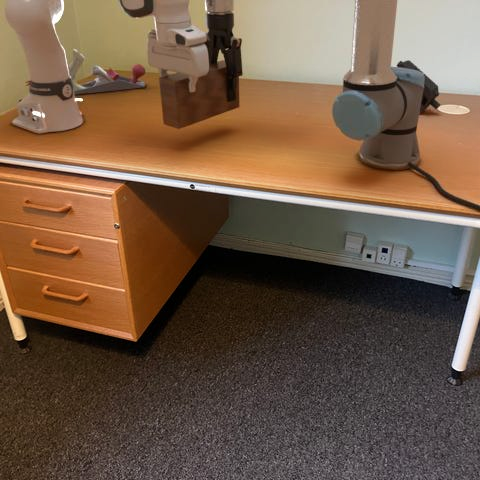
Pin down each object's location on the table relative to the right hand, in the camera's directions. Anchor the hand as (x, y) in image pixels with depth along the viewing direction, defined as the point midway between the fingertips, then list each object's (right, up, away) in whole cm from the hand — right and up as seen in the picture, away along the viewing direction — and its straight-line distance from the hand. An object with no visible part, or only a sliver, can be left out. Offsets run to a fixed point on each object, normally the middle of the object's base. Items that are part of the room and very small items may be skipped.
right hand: (222, 98), depth 153 cm
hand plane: (-45, +15, +45) cm, 66 cm away
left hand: (-11, -1, -14) cm, 18 cm away
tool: (+59, +2, +20) cm, 62 cm away
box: (-6, -6, -3) cm, 9 cm away
